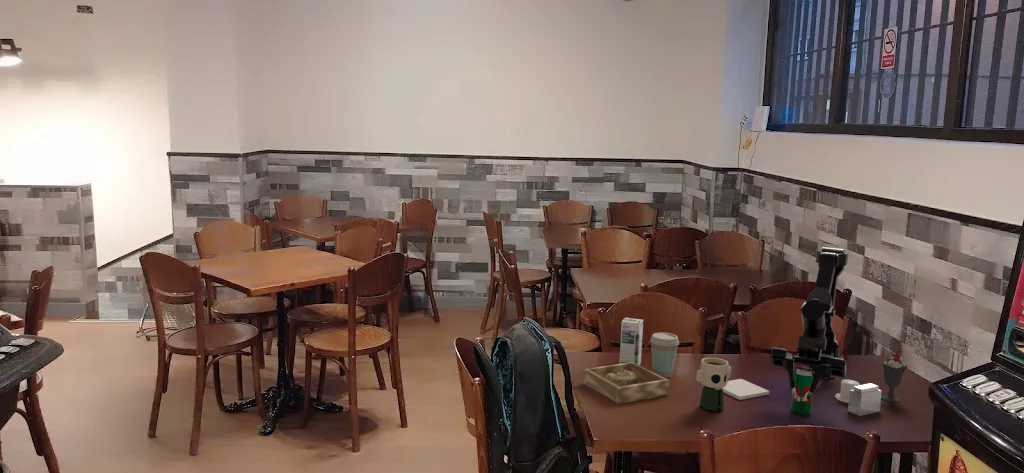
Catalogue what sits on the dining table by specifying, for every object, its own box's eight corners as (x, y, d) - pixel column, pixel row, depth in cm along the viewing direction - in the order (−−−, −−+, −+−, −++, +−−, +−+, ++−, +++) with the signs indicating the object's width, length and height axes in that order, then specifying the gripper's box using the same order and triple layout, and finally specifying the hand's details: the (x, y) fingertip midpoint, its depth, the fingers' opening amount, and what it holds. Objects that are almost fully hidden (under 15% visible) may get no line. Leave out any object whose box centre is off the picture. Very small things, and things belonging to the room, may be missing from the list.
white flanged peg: (846, 393, 217) (848, 376, 216) (867, 401, 211) (869, 384, 210) (829, 397, 214) (831, 380, 213) (850, 405, 208) (852, 388, 207)
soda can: (812, 411, 202) (816, 368, 200) (808, 417, 197) (812, 373, 196) (793, 407, 204) (796, 364, 202) (788, 413, 200) (792, 369, 198)
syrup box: (618, 366, 234) (621, 320, 232) (623, 361, 240) (625, 316, 237) (636, 369, 232) (639, 323, 230) (641, 363, 238) (643, 318, 235)
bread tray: (631, 375, 226) (632, 361, 225) (668, 394, 211) (669, 380, 210) (583, 383, 218) (584, 369, 218) (617, 403, 203) (618, 388, 203)
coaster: (741, 382, 223) (741, 378, 223) (769, 394, 214) (769, 391, 214) (712, 387, 218) (712, 383, 218) (739, 400, 209) (740, 396, 209)
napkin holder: (867, 407, 207) (870, 382, 206) (879, 411, 204) (882, 386, 202) (847, 411, 203) (850, 386, 202) (859, 416, 200) (862, 390, 199)
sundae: (893, 405, 208) (899, 352, 206) (872, 397, 214) (877, 345, 212) (909, 401, 211) (915, 349, 209) (887, 393, 217) (893, 343, 215)
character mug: (703, 415, 197) (706, 367, 195) (686, 406, 203) (689, 359, 201) (736, 410, 201) (740, 363, 199) (719, 401, 208) (723, 355, 206)
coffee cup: (677, 380, 223) (679, 341, 221) (647, 377, 225) (650, 338, 223) (676, 371, 231) (679, 333, 230) (648, 368, 233) (650, 330, 231)
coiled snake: (645, 387, 216) (647, 370, 215) (625, 397, 209) (627, 378, 208) (616, 376, 223) (618, 359, 221) (596, 384, 215) (598, 367, 214)
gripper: (774, 318, 205) (762, 368, 197) (849, 329, 196) (839, 382, 188) (777, 339, 213) (766, 388, 205) (849, 350, 204) (840, 402, 196)
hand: (802, 390), depth 199 cm, fingers closed on soda can, 5 cm apart
